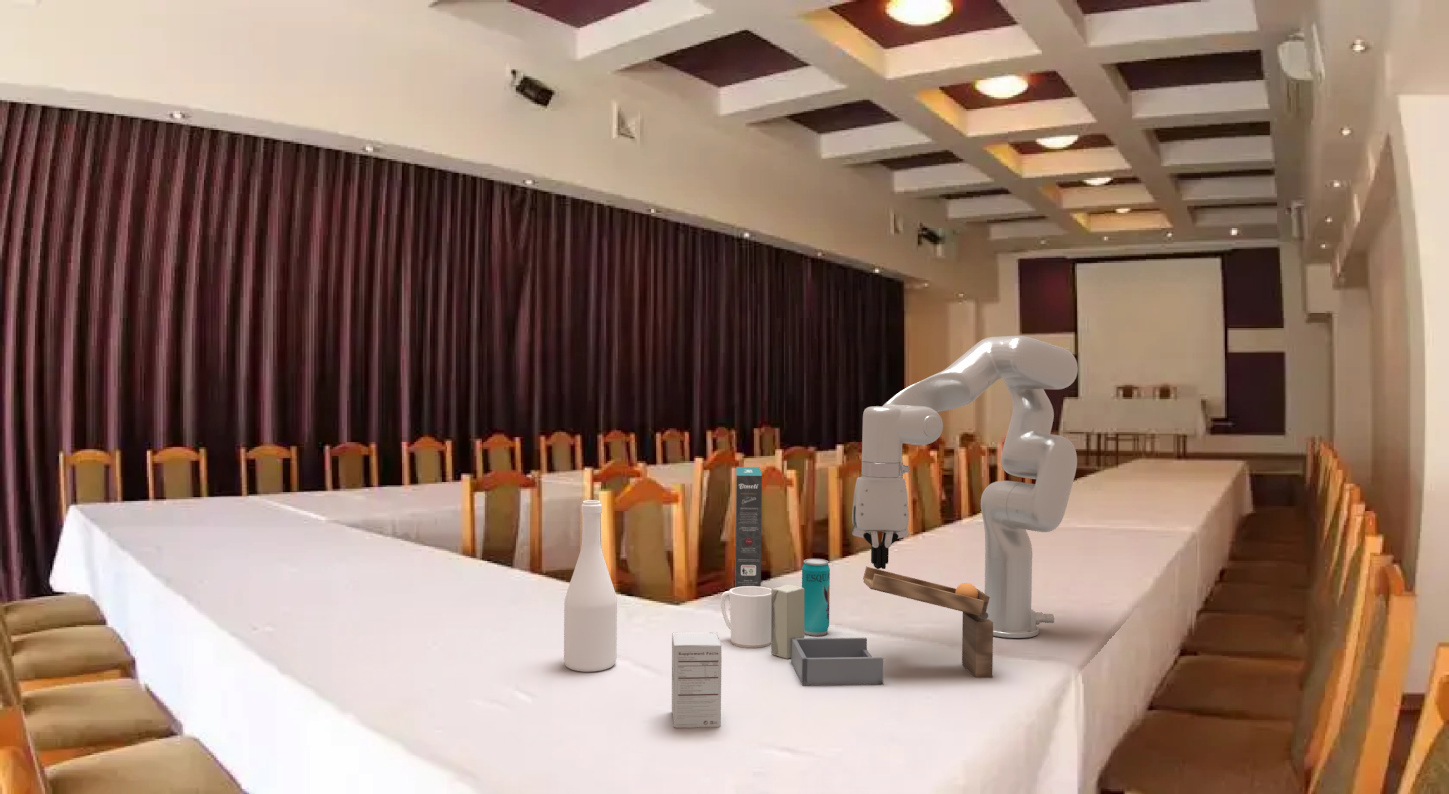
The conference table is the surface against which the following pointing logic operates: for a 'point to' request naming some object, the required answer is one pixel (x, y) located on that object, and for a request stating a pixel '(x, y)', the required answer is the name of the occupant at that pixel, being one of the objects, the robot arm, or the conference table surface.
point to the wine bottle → (590, 602)
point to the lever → (925, 591)
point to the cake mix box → (748, 526)
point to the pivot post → (977, 645)
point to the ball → (967, 590)
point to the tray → (835, 661)
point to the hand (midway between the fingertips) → (879, 567)
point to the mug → (749, 616)
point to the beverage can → (816, 596)
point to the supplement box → (696, 679)
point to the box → (786, 618)
